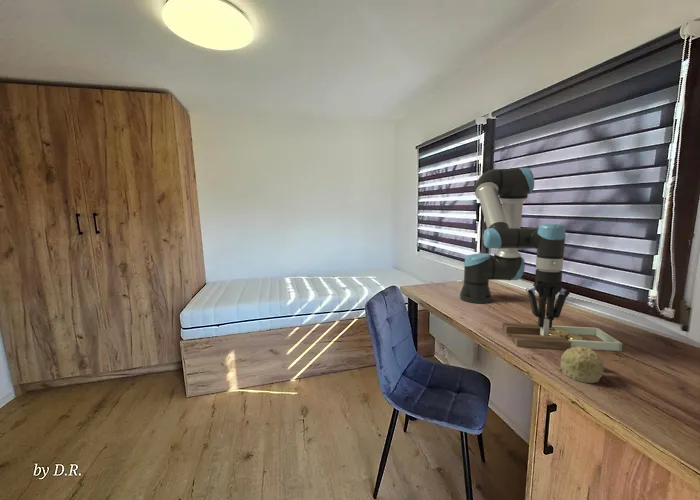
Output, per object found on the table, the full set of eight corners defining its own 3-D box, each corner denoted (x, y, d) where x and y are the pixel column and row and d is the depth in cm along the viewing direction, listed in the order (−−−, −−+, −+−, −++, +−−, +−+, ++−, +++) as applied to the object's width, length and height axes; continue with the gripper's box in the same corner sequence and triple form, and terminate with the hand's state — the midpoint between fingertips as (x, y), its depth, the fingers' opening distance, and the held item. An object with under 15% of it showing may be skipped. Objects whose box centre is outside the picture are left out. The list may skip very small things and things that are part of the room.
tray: (550, 334, 109) (550, 325, 108) (596, 337, 106) (597, 327, 106) (568, 350, 97) (569, 340, 96) (621, 353, 94) (622, 343, 93)
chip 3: (567, 339, 103) (568, 332, 103) (582, 343, 101) (582, 336, 100) (565, 343, 100) (566, 336, 100) (580, 347, 98) (581, 340, 97)
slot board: (502, 331, 113) (502, 322, 112) (548, 333, 110) (549, 324, 109) (516, 349, 98) (517, 339, 98) (570, 352, 95) (571, 342, 95)
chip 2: (551, 335, 106) (552, 328, 105) (561, 334, 106) (562, 328, 106) (560, 340, 102) (560, 333, 101) (571, 339, 102) (571, 333, 102)
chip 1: (543, 336, 105) (543, 330, 104) (555, 336, 105) (555, 330, 104) (550, 341, 101) (550, 334, 101) (562, 341, 101) (562, 335, 100)
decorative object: (571, 393, 80) (598, 375, 74) (545, 359, 88) (568, 340, 82) (594, 389, 83) (622, 371, 77) (567, 356, 91) (590, 338, 85)
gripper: (532, 271, 98) (527, 339, 101) (576, 272, 95) (570, 341, 98) (523, 267, 105) (519, 330, 108) (564, 267, 102) (559, 332, 106)
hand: (544, 335), depth 103 cm, fingers closed
